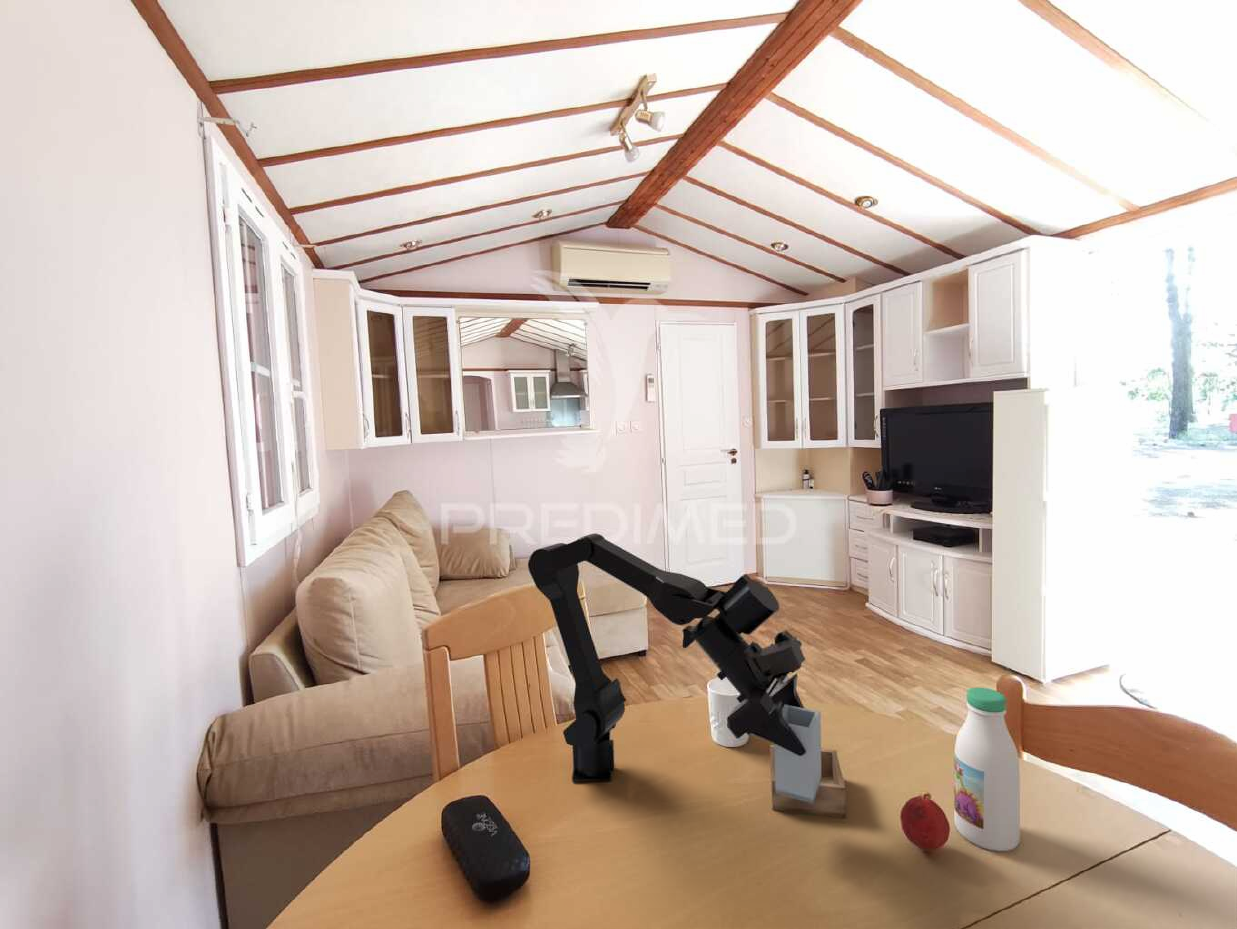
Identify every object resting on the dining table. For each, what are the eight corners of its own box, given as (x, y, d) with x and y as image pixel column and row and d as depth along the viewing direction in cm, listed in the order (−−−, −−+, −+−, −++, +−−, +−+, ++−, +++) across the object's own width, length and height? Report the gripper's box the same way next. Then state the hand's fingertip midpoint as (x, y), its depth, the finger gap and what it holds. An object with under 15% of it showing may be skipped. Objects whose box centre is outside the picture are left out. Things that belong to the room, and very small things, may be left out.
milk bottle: (1009, 821, 84) (1010, 684, 83) (1028, 858, 76) (1028, 709, 75) (949, 811, 86) (948, 678, 85) (960, 846, 79) (960, 702, 78)
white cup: (755, 749, 105) (754, 694, 104) (711, 749, 105) (710, 695, 105) (746, 727, 113) (745, 676, 112) (705, 728, 113) (704, 677, 112)
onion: (930, 871, 75) (930, 811, 74) (891, 844, 80) (890, 787, 79) (958, 855, 77) (958, 797, 77) (919, 830, 82) (918, 775, 82)
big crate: (772, 809, 88) (771, 780, 88) (770, 770, 98) (770, 744, 98) (845, 817, 85) (845, 787, 85) (836, 777, 96) (835, 750, 95)
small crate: (775, 793, 81) (774, 722, 80) (785, 770, 86) (785, 704, 85) (812, 803, 78) (812, 730, 78) (821, 779, 83) (820, 711, 83)
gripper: (749, 640, 75) (841, 744, 70) (784, 602, 91) (860, 684, 86) (692, 688, 79) (775, 790, 74) (735, 644, 95) (806, 724, 90)
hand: (808, 742), depth 81 cm, fingers closed on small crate, 6 cm apart
